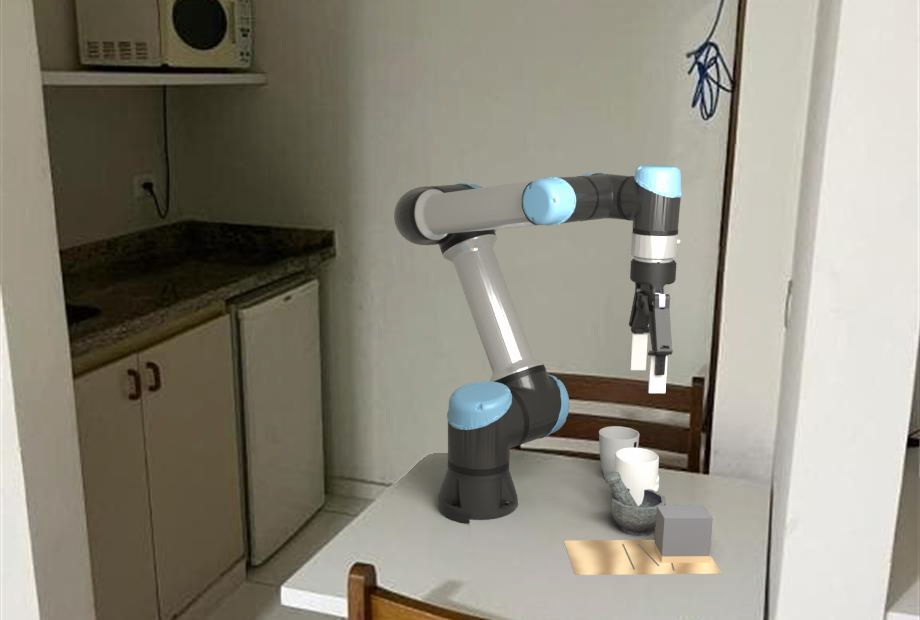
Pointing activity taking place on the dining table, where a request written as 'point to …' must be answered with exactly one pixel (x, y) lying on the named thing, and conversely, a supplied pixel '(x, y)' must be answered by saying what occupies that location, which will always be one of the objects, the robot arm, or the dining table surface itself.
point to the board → (627, 559)
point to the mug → (638, 471)
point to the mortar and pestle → (633, 507)
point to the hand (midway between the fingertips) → (646, 380)
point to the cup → (615, 444)
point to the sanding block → (683, 534)
